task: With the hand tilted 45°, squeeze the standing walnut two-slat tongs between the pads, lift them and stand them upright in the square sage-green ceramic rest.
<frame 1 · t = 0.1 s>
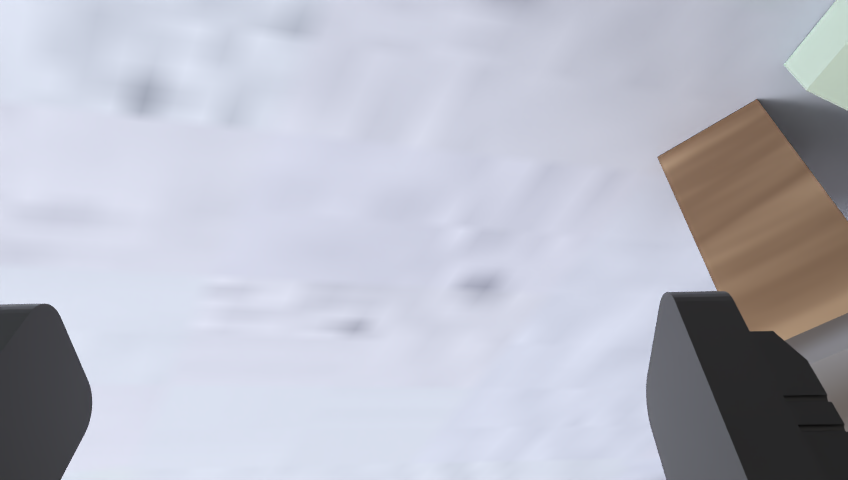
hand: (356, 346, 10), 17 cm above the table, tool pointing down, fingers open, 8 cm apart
tongs: (726, 161, 28), on the table
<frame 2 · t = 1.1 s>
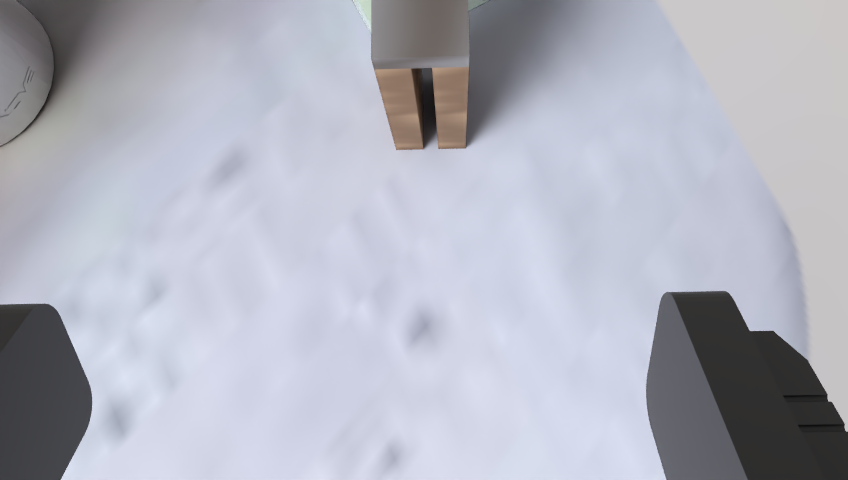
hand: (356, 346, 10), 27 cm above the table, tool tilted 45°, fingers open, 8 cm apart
tongs: (430, 112, 38), on the table
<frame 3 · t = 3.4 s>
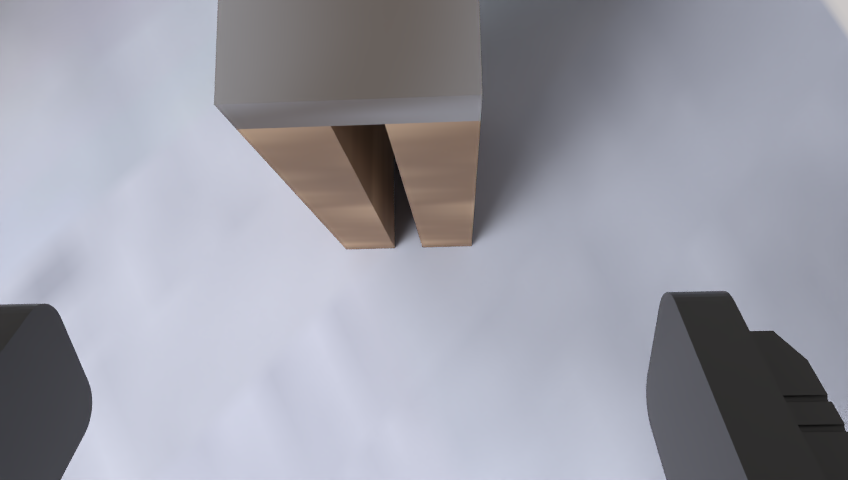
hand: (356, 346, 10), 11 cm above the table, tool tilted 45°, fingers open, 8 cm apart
tongs: (407, 180, 21), on the table
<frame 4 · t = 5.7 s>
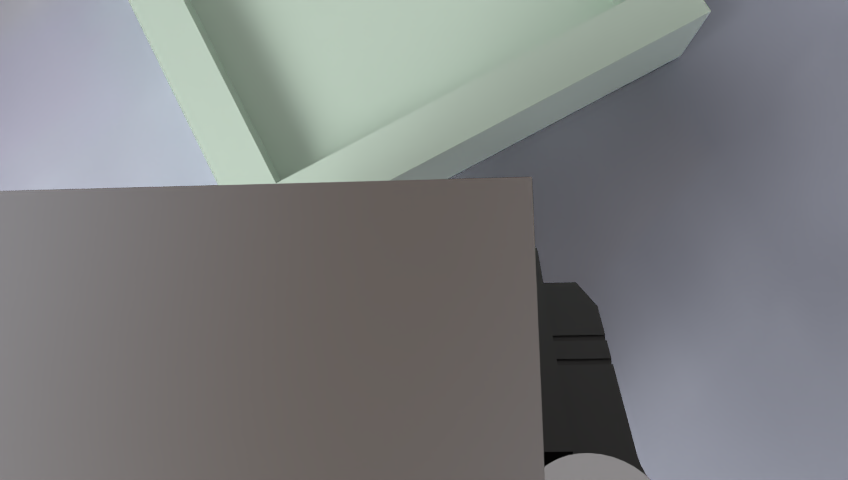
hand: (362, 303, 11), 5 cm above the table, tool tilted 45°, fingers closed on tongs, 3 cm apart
tongs: (395, 423, 15), on the table, touching gripper
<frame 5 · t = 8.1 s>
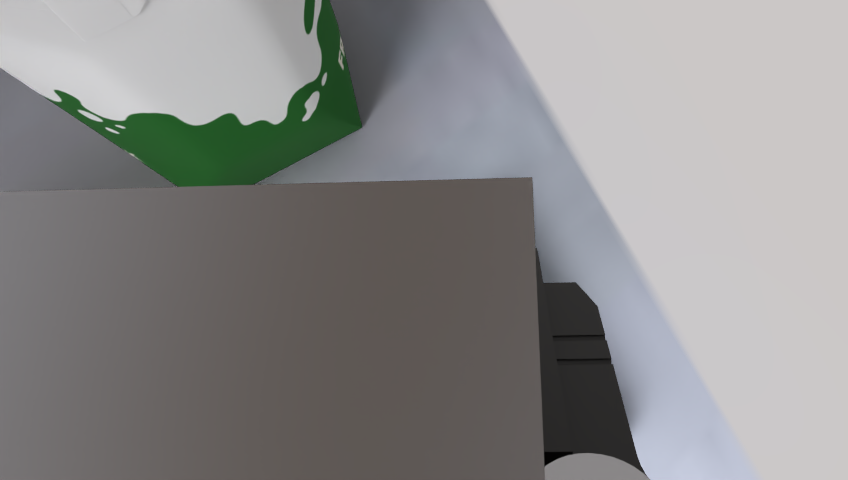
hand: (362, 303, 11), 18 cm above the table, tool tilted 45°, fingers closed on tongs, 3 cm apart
tongs: (395, 423, 15), point 13 cm above the table, touching gripper
milk carton: (250, 100, 31), on the table
when the fingers open (7 cm above the table, at t = 10.5 s): tongs drops 1 cm, resting on rest.
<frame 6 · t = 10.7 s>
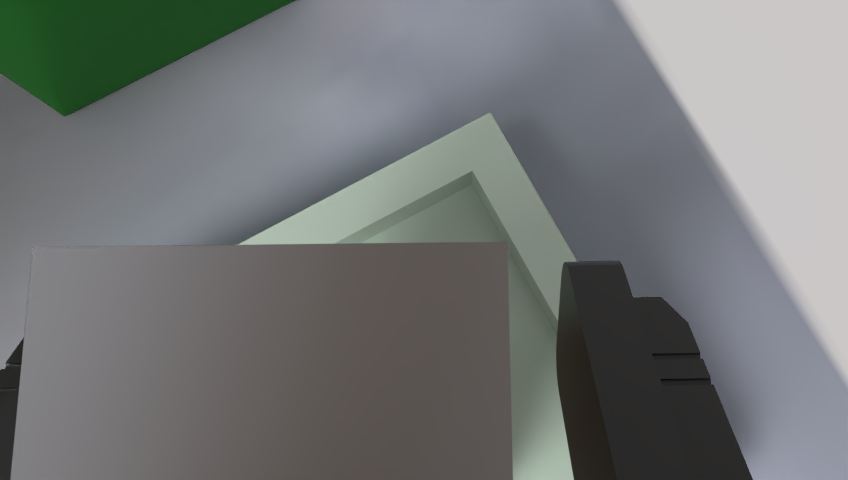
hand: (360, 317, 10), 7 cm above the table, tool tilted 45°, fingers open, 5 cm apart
tongs: (398, 420, 16), point 1 cm above the table, touching rest
rest: (403, 417, 17), on the table
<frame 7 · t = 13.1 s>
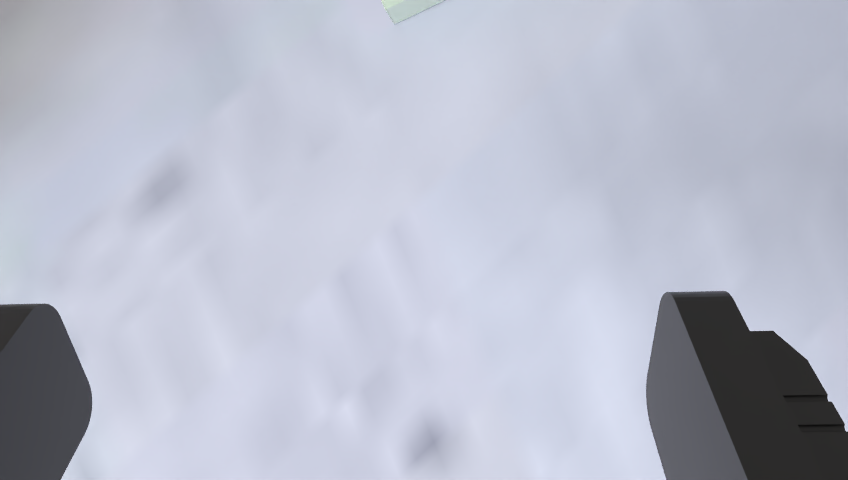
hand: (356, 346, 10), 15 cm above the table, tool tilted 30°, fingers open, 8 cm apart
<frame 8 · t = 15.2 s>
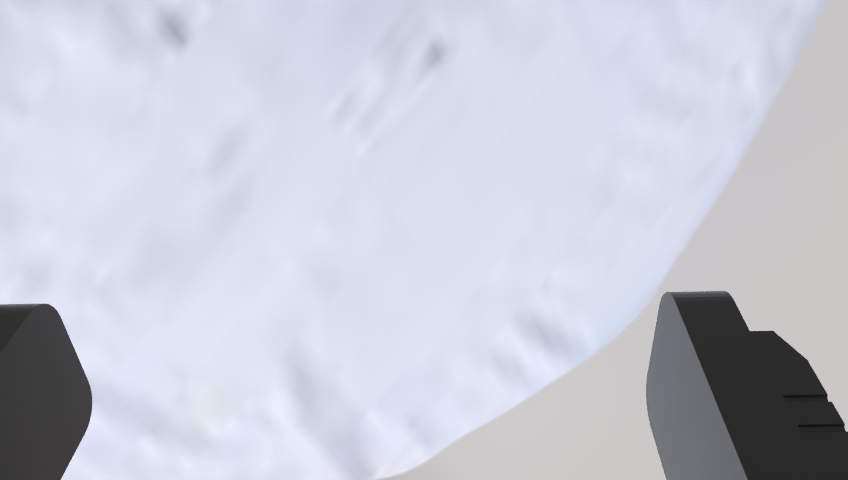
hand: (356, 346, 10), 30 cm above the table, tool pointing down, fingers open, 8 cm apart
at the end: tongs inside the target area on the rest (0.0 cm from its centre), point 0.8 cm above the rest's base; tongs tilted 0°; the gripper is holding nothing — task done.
